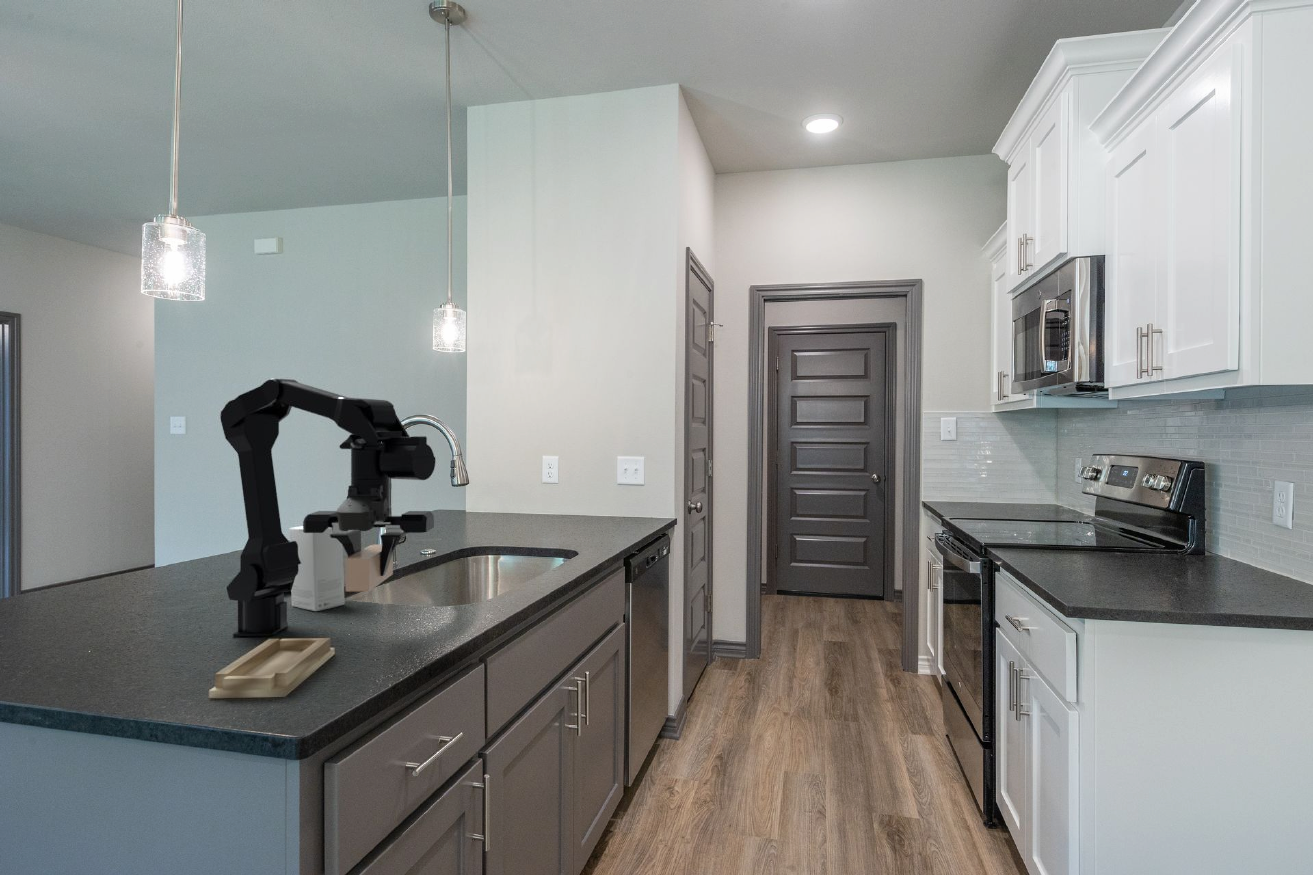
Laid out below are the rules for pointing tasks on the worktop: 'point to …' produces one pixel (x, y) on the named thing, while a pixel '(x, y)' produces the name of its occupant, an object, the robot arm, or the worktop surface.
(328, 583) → the skincare box
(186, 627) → the worktop surface
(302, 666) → the tray
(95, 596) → the worktop surface
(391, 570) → the clay bar
